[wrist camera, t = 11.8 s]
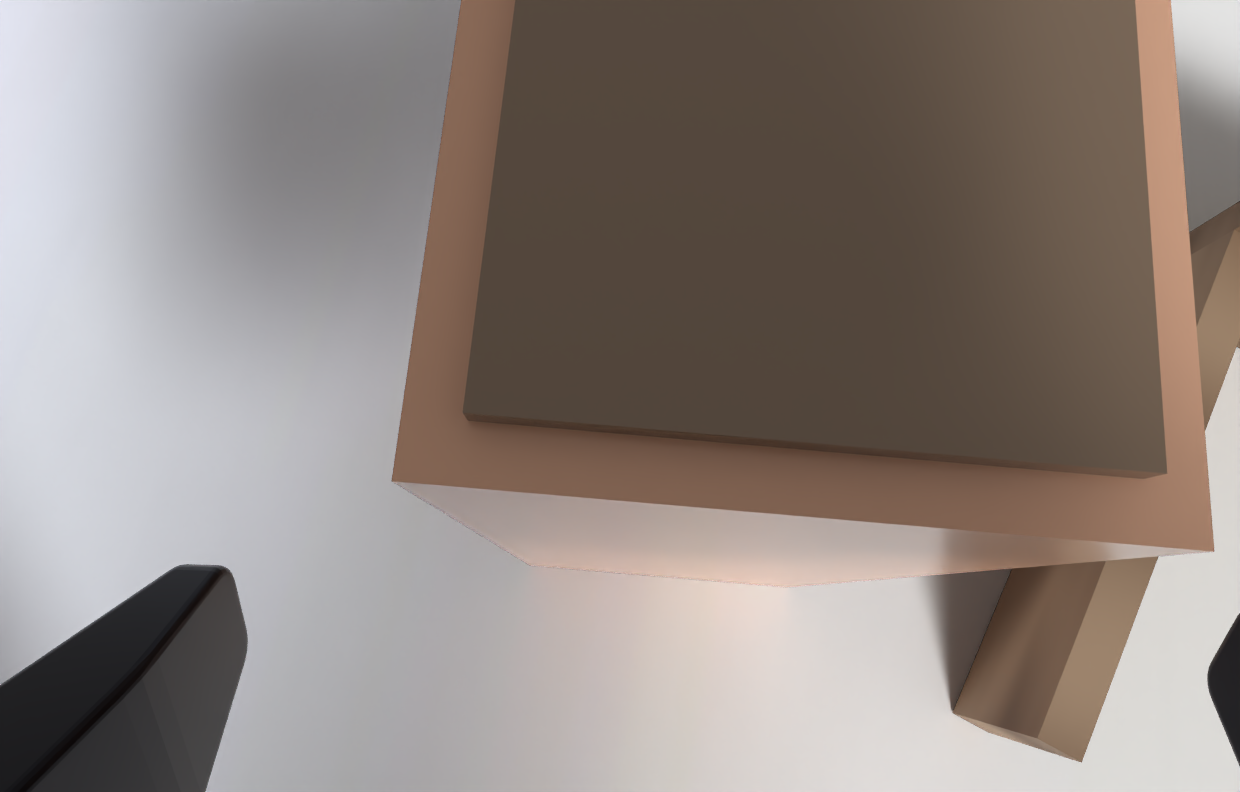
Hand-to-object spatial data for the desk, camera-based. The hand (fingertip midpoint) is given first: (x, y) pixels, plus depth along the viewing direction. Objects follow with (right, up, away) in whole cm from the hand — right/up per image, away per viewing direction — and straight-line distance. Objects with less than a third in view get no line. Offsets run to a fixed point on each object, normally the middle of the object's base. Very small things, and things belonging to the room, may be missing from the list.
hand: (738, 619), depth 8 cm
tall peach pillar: (0, +1, +11) cm, 11 cm away
